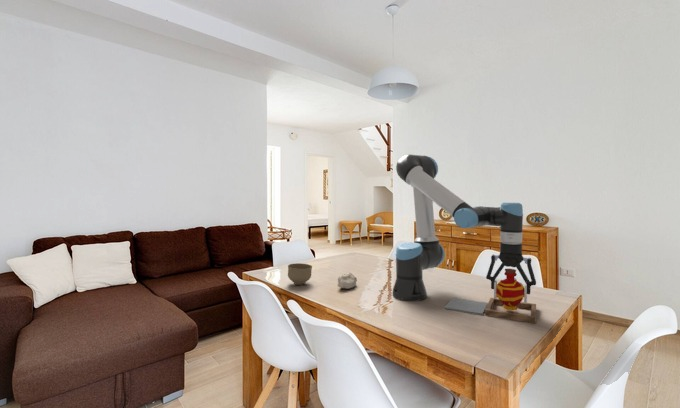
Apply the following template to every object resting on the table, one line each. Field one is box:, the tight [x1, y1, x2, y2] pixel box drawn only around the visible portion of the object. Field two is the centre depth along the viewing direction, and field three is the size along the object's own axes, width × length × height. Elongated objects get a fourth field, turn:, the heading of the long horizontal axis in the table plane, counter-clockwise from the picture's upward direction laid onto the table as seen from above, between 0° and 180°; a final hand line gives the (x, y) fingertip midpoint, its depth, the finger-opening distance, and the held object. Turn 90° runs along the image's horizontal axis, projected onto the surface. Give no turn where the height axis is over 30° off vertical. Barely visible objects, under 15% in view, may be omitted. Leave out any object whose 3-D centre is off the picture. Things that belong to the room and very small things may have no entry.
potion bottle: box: [496, 268, 525, 311], centre depth 126 cm, size 10×10×15 cm
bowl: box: [287, 262, 313, 286], centre depth 170 cm, size 13×13×10 cm
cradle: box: [484, 297, 537, 324], centre depth 126 cm, size 16×16×2 cm
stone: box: [337, 272, 358, 290], centre depth 163 cm, size 8×12×10 cm, turn 154°
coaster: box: [444, 297, 488, 316], centre depth 133 cm, size 14×14×1 cm
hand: (510, 299), depth 127 cm, fingers closed on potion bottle, 10 cm apart
